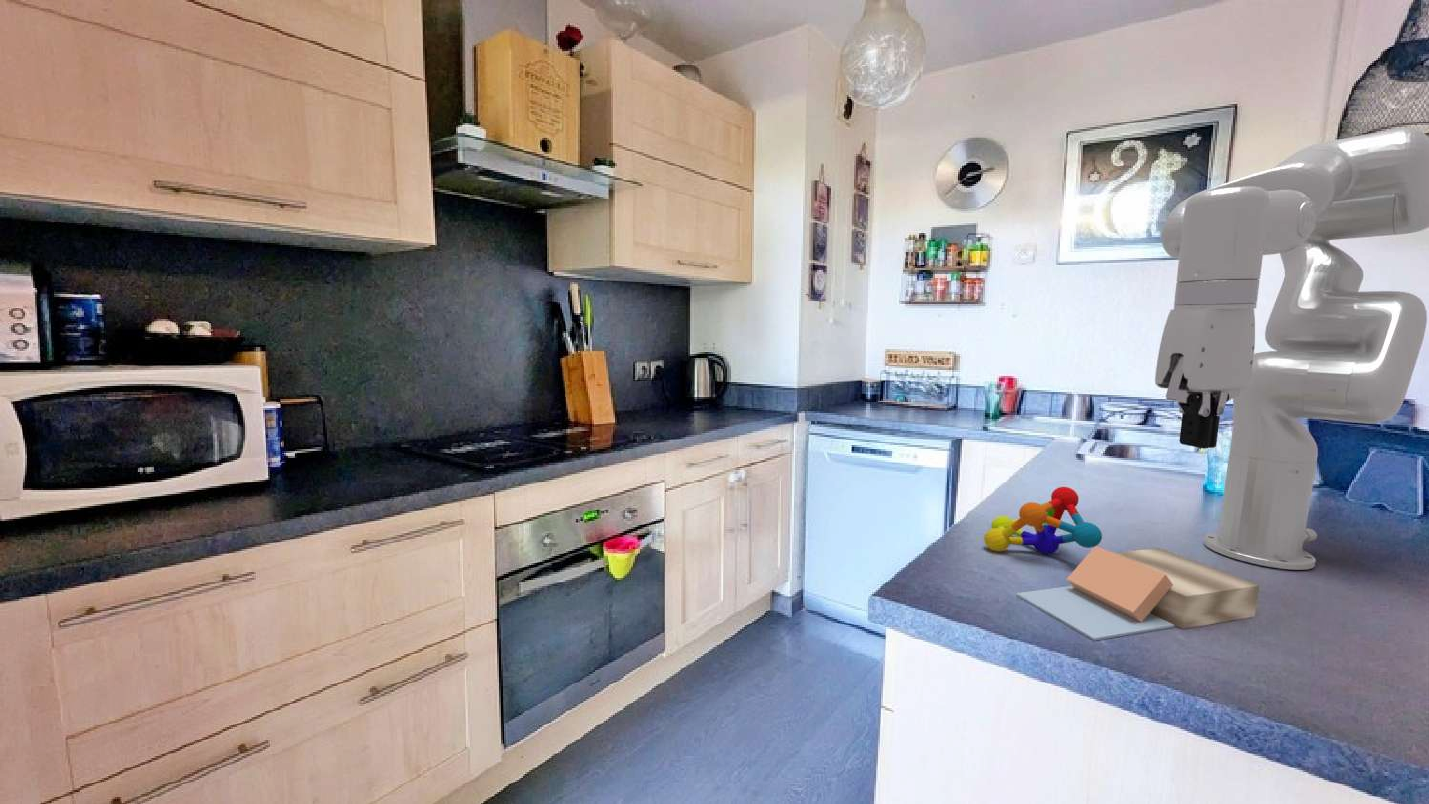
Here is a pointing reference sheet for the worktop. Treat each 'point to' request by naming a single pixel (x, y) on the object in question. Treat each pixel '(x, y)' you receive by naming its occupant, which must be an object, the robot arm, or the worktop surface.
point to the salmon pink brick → (1120, 583)
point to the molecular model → (1044, 525)
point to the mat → (1090, 614)
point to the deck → (1197, 590)
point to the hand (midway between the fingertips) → (1197, 445)
